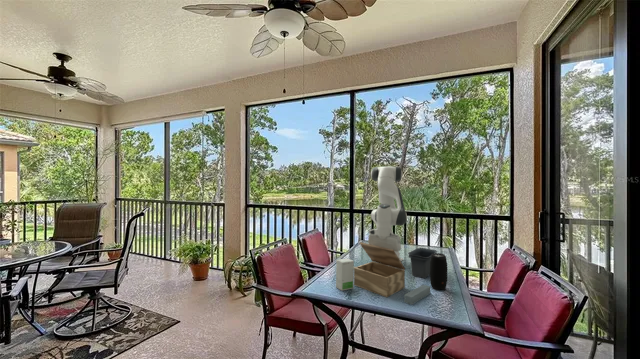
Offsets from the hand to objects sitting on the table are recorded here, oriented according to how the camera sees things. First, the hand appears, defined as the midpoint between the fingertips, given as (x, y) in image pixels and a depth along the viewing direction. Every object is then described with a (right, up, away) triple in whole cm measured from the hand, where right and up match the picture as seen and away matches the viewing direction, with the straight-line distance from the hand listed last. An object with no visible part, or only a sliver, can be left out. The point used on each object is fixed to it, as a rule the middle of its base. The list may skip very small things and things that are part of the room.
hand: (383, 255), depth 157 cm
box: (-4, -17, -3) cm, 17 cm away
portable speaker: (+30, -17, -5) cm, 35 cm away
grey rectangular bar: (+13, -17, -17) cm, 28 cm away
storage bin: (+29, -17, +19) cm, 39 cm away
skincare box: (-24, -17, -5) cm, 29 cm away
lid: (-2, 0, -2) cm, 2 cm away
